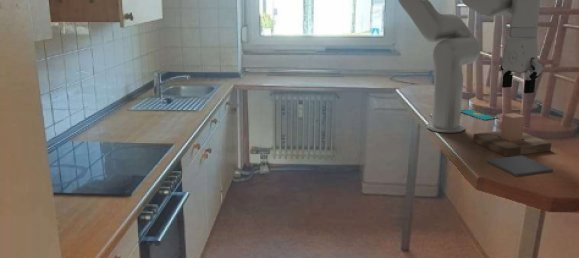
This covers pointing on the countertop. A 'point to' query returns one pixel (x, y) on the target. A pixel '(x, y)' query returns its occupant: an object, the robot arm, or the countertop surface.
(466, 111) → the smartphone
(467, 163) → the countertop surface
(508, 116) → the block
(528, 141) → the pocket board
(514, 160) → the mat
